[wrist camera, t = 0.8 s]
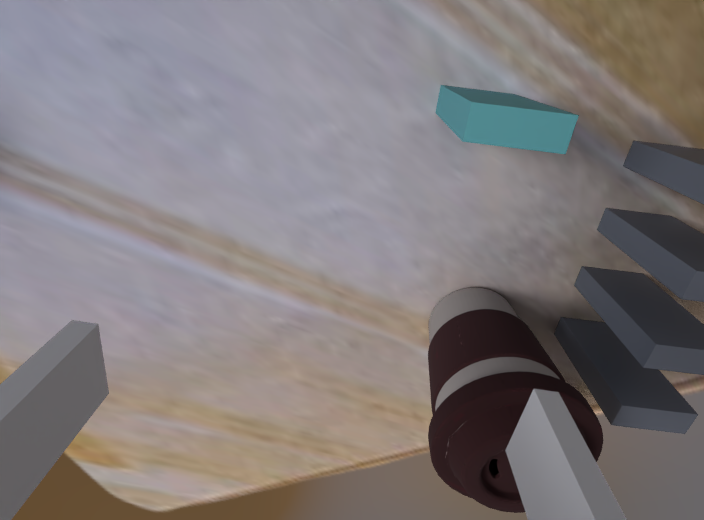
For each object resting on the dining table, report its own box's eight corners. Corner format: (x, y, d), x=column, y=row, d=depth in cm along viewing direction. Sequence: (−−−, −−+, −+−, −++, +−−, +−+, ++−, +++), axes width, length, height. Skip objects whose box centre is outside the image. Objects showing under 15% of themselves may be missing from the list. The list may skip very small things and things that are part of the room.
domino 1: (440, 85, 28) (471, 101, 19) (514, 94, 28) (578, 115, 19) (435, 112, 29) (462, 141, 20) (506, 121, 29) (565, 154, 20)
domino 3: (605, 207, 32) (696, 271, 23) (671, 216, 32) (787, 282, 23) (596, 229, 32) (681, 299, 24) (660, 237, 32) (769, 309, 24)
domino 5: (561, 317, 36) (622, 405, 27) (618, 324, 36) (698, 414, 27) (554, 333, 37) (611, 425, 28) (610, 340, 37) (685, 433, 28)
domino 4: (581, 266, 34) (656, 344, 25) (643, 273, 34) (739, 354, 25) (574, 285, 35) (643, 367, 26) (634, 292, 35) (723, 377, 26)
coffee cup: (551, 295, 35) (659, 447, 22) (491, 377, 40) (550, 546, 26) (444, 254, 34) (490, 388, 21) (394, 344, 38) (405, 503, 25)
